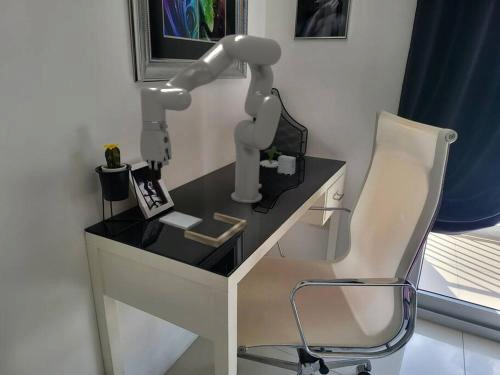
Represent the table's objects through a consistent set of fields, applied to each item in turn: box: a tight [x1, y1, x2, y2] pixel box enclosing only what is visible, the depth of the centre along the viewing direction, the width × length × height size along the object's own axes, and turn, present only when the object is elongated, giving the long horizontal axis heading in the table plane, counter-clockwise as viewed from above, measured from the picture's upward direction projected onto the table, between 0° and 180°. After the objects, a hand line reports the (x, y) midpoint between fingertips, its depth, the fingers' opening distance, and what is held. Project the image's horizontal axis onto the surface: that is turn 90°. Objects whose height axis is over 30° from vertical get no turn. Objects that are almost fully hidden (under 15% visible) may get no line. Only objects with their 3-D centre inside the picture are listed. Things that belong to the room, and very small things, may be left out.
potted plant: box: [259, 145, 284, 168], centre depth 190 cm, size 12×12×10 cm
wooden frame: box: [184, 212, 247, 248], centre depth 111 cm, size 17×12×2 cm
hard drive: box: [158, 211, 204, 231], centre depth 118 cm, size 2×8×12 cm
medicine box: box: [277, 154, 297, 176], centre depth 175 cm, size 8×4×9 cm, turn 58°
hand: (156, 179), depth 117 cm, fingers closed
